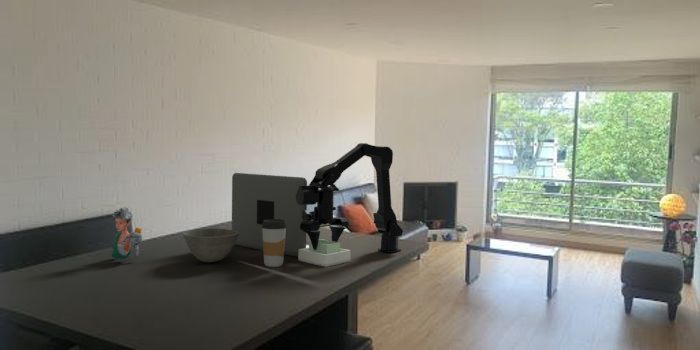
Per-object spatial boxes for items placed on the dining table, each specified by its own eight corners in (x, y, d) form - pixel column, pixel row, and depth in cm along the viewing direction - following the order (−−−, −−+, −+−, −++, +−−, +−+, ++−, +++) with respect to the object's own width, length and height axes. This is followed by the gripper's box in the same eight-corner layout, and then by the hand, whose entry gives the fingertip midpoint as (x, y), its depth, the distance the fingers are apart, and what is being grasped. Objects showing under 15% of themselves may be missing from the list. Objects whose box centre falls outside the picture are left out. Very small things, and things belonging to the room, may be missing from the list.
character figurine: (99, 259, 183) (99, 207, 182) (116, 255, 191) (116, 204, 190) (128, 262, 180) (128, 209, 179) (144, 258, 188) (144, 206, 187)
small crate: (321, 255, 195) (322, 239, 195) (339, 259, 189) (340, 242, 189) (308, 258, 190) (309, 241, 190) (326, 262, 184) (327, 244, 184)
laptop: (351, 248, 215) (352, 175, 213) (303, 260, 191) (305, 177, 189) (280, 237, 237) (281, 170, 235) (229, 246, 213) (230, 172, 211)
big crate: (323, 255, 198) (323, 244, 198) (350, 261, 189) (350, 250, 189) (298, 260, 189) (298, 249, 189) (325, 267, 180) (325, 255, 180)
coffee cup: (281, 268, 177) (282, 222, 176) (257, 266, 178) (257, 221, 178) (289, 263, 185) (289, 219, 184) (266, 261, 187) (266, 218, 186)
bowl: (249, 261, 186) (250, 232, 186) (201, 269, 173) (202, 238, 172) (219, 253, 199) (219, 226, 198) (172, 260, 185) (172, 231, 185)
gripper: (327, 200, 201) (327, 241, 202) (289, 203, 187) (289, 248, 188) (349, 203, 193) (348, 246, 194) (311, 206, 179) (311, 253, 180)
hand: (324, 248), depth 189 cm, fingers open, 9 cm apart
